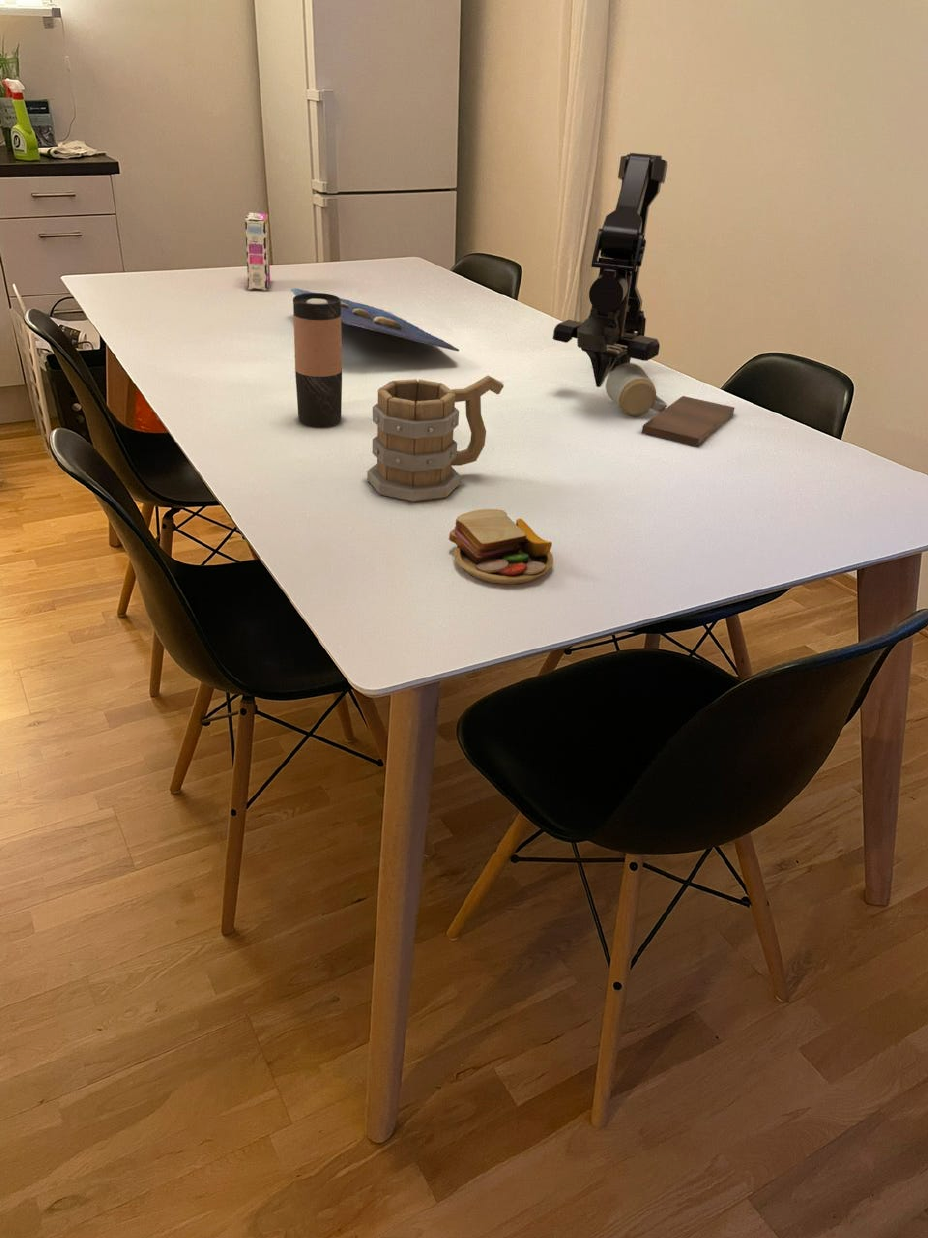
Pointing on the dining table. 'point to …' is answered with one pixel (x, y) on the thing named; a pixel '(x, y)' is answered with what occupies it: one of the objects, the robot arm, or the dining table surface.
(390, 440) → the tankard
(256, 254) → the candy bar box
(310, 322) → the travel mug
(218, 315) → the dining table surface
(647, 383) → the ceramic mug
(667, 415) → the walnut board
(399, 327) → the serving platter
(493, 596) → the dining table surface
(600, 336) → the robot arm
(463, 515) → the toy sandwich meal
